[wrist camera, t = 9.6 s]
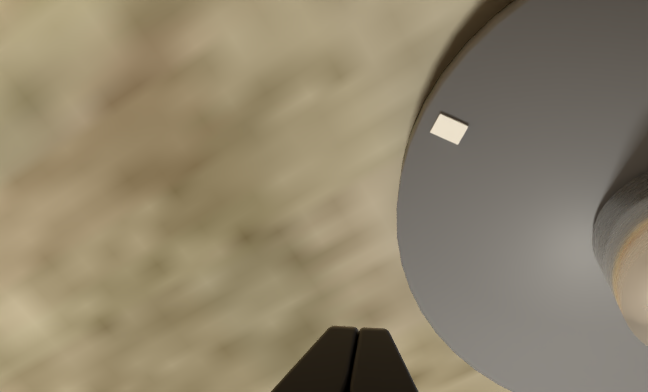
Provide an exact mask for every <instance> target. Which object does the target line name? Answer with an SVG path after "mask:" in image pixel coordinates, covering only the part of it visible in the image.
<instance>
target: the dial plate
mask: <svg viewBox="0 0 648 392" xmlns="http://www.w3.org/2000/svg"><path fill="white" fill-rule="evenodd" d="M647 172H648V0H514V1H513V2H512V3H510V4H509V5H508V6H506V7H505V8H504V9H503V10H501V11H500V12H499V13H497V14H496V15H495V16H494V17H493V18H491V19H490V20H489V21H488V22H487V23H486V24H485V25H484V26H483V27H482V28H481V29H480V30H479V31H478V32H477V33H476V34H475V35H474V36H473V37H472V38H471V39H470V40H469V41H468V42H467V43H466V44H465V45H464V46H463V48H462V49H461V50H460V51H459V53H458V54H457V55H456V56H455V58H454V59H453V60H452V61H451V63H450V64H449V65H448V66H447V68H446V69H445V70H444V72H443V73H442V74H441V76H440V78H439V79H438V81H437V82H436V84H435V86H434V87H433V89H432V91H431V92H430V94H429V96H428V97H427V99H426V100H425V102H424V104H423V106H422V109H421V111H420V113H419V115H418V118H417V120H416V122H415V124H414V127H413V129H412V131H411V134H410V138H409V141H408V145H407V148H406V152H405V155H404V159H403V162H402V170H401V177H400V185H399V192H398V202H397V239H398V245H399V251H400V257H401V263H402V266H403V269H404V272H405V275H406V278H407V281H408V284H409V287H410V290H411V292H412V294H413V296H414V298H415V300H416V302H417V304H418V306H419V308H420V310H421V312H422V313H423V315H424V316H425V318H426V319H427V320H428V322H429V323H430V325H431V326H432V328H433V329H434V330H435V332H436V333H437V334H438V335H439V337H440V338H441V339H442V340H443V341H444V342H445V343H446V344H447V345H448V346H449V347H450V348H451V349H452V350H453V352H454V353H456V354H457V355H458V356H459V357H460V358H462V359H463V360H464V361H465V362H466V363H468V364H469V365H470V366H471V367H472V368H474V369H475V370H476V371H478V372H479V373H481V374H483V375H484V376H486V377H487V378H489V379H490V380H492V381H493V382H495V383H497V384H498V385H500V386H502V387H504V388H506V389H508V390H510V391H512V392H648V346H646V345H645V344H644V343H642V342H641V341H640V340H639V339H638V338H637V337H636V336H635V335H634V334H633V332H632V331H631V330H630V328H629V327H628V325H627V323H626V321H625V318H624V316H623V314H622V312H621V310H620V308H619V306H618V304H617V302H616V300H615V298H614V296H613V294H612V292H611V290H610V288H609V285H608V283H607V281H606V279H605V277H604V275H603V273H602V271H601V269H600V267H599V265H598V263H597V261H596V258H595V256H594V252H593V247H592V233H593V228H594V224H595V222H596V219H597V217H598V215H599V213H600V211H601V210H602V208H603V206H604V205H605V204H606V202H607V201H608V200H609V199H610V198H611V197H612V196H613V195H614V194H615V193H616V192H617V191H618V190H619V189H620V188H622V187H623V186H624V185H625V184H627V183H628V182H630V181H632V180H633V179H635V178H637V177H639V176H641V175H642V174H644V173H647Z"/></svg>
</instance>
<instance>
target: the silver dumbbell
mask: <svg viewBox="0 0 648 392" xmlns="http://www.w3.org/2000/svg"><path fill="white" fill-rule="evenodd" d="M592 247H593V252H594V256H595V258H596V261H597V263H598V265H599V267H600V269H601V271H602V273H603V275H604V277H605V279H606V281H607V283H608V285H609V288H610V290H611V292H612V294H613V296H614V298H615V300H616V302H617V304H618V306H619V308H620V310H621V312H622V314H623V316H624V318H625V321H626V323H627V325H628V327H629V328H630V330H631V331H632V332H633V334H634V335H635V336H636V337H637V338H638V339H639V340H640V341H641V342H642V343H644V344H645V345H646V346H648V172H647V173H644V174H642V175H641V176H639V177H637V178H635V179H633V180H632V181H630V182H628V183H627V184H625V185H624V186H623V187H622V188H620V189H619V190H618V191H617V192H616V193H615V194H614V195H613V196H612V197H611V198H610V199H609V200H608V201H607V202H606V204H605V205H604V206H603V208H602V210H601V211H600V213H599V215H598V217H597V219H596V222H595V224H594V228H593V233H592Z"/></svg>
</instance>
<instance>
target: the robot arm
mask: <svg viewBox="0 0 648 392" xmlns="http://www.w3.org/2000/svg"><path fill="white" fill-rule="evenodd" d="M271 392H418V390H417V388H416V386H415V384H414V382H413V380H412V378H411V375H410V373H409V371H408V369H407V367H406V365H405V363H404V361H403V359H402V357H401V355H400V353H399V351H398V349H397V347H396V345H395V343H394V341H393V339H392V337H391V335H390V333H389V331H388V330H386V329H383V328H361V329H360V331H358V329H357V328H356V327H346V326H332V327H330V328H328V329H327V330H326V332H325V333H324V334H323V335H322V336H321V337H320V338H319V339H318V340H317V342H316V343H315V344H314V345H313V346H312V347H311V348H310V349H309V350H308V351H307V353H306V354H305V355H304V356H303V357H302V358H301V359H300V360H299V361H298V362H297V364H296V365H295V366H294V367H293V368H292V369H291V370H290V371H289V372H288V374H287V375H286V376H285V377H284V378H283V379H282V380H281V381H280V382H279V383H278V385H277V386H276V387H275V388H274V389H273V390H272V391H271Z"/></svg>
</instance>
